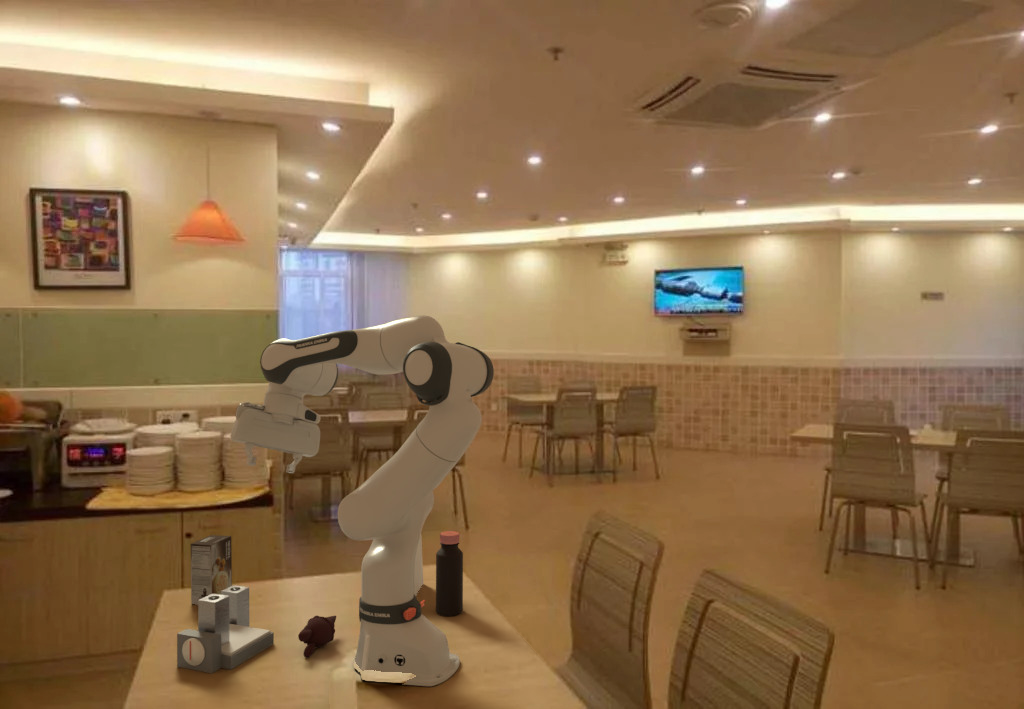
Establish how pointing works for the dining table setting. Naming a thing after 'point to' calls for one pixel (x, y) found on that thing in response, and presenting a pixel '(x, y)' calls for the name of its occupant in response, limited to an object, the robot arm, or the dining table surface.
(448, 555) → the bottle
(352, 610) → the dining table surface
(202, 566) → the coffee box
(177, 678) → the dining table surface
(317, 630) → the icecream
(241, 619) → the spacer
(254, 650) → the scale
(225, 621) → the post
